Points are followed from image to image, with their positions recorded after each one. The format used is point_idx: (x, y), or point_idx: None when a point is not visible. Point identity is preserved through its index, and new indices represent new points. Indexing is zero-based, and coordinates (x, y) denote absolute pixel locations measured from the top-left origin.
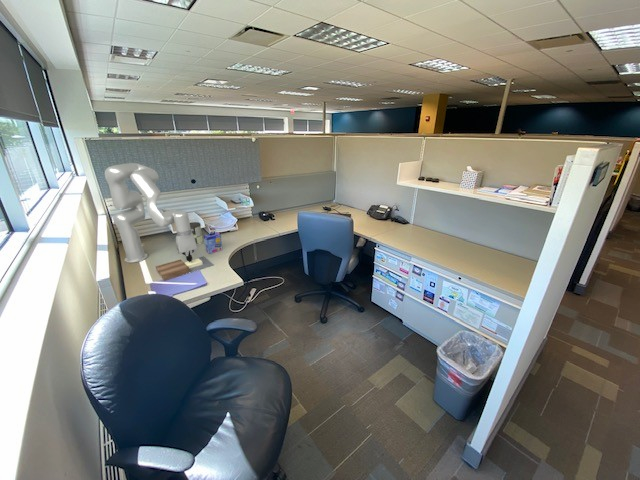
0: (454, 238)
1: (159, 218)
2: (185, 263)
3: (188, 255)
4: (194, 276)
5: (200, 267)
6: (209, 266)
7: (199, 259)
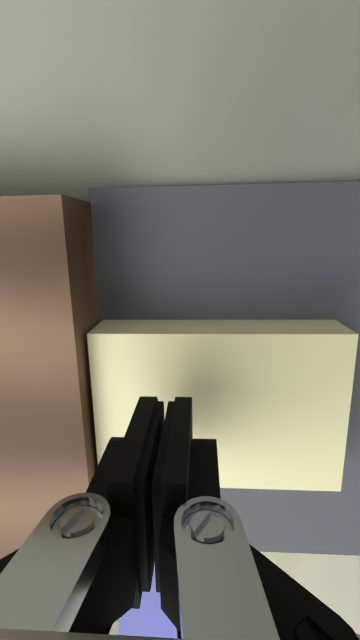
0: None
1: None
2: (104, 385)
3: (133, 586)
4: (127, 628)
5: (257, 514)
6: (357, 552)
7: (345, 393)
